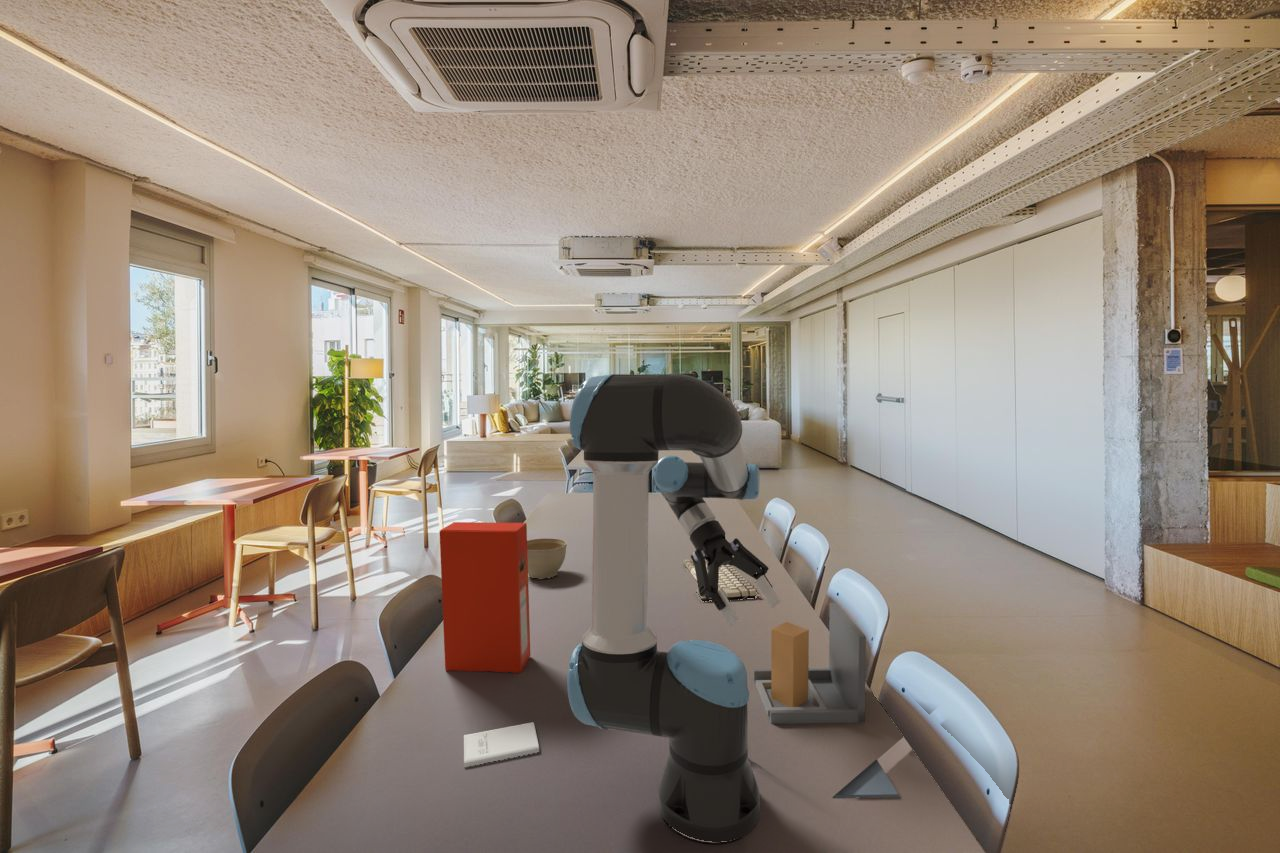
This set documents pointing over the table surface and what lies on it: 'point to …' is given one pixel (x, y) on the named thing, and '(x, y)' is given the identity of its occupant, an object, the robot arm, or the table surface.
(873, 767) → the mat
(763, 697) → the case
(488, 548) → the file binder
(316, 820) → the table surface
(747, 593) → the mechanical keyboard
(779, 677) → the module
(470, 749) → the external hard drive
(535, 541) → the planter bowl
